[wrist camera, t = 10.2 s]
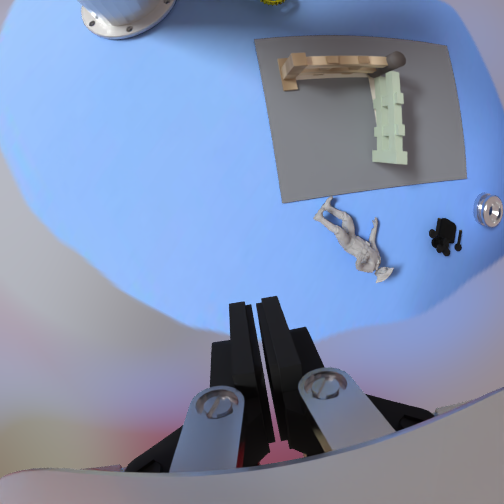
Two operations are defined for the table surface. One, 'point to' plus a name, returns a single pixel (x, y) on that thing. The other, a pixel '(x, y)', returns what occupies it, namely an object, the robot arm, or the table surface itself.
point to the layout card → (359, 118)
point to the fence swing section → (389, 120)
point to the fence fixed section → (335, 66)
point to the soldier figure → (355, 241)
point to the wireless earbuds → (444, 236)
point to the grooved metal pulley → (488, 210)
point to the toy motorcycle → (272, 2)
